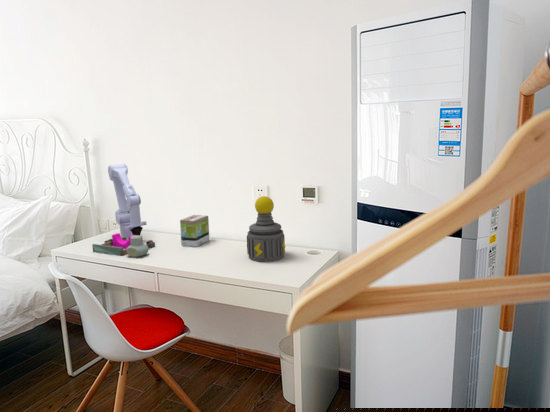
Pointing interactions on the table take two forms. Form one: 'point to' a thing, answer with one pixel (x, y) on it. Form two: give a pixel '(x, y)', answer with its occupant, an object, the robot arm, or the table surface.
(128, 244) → the toy block
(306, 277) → the table surface
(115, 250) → the trap channel
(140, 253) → the air freshener
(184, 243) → the tea box
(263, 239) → the decorative lamp
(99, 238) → the table surface
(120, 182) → the robot arm
